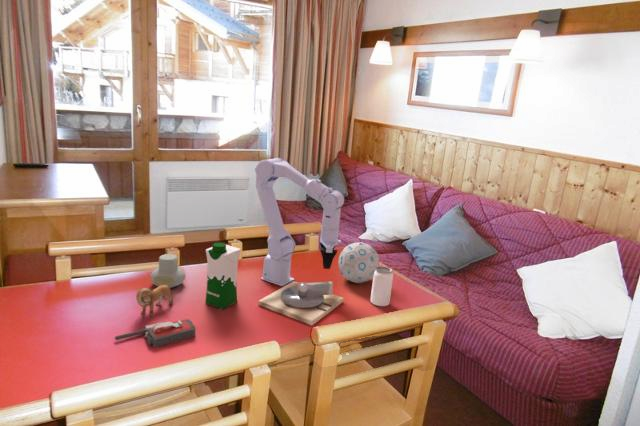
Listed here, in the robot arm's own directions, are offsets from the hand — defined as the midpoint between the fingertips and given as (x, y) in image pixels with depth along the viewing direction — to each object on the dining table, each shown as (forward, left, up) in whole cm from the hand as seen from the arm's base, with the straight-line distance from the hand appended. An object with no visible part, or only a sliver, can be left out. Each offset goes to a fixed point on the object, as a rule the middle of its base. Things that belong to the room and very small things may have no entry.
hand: (326, 265), depth 152 cm
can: (+18, +7, -11) cm, 22 cm away
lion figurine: (-33, -44, -11) cm, 56 cm away
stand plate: (-2, -11, -10) cm, 16 cm away
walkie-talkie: (-21, -53, -11) cm, 58 cm away
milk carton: (-22, -27, -11) cm, 37 cm away
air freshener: (-44, -29, -11) cm, 54 cm away
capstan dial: (-1, -10, -9) cm, 14 cm away
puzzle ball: (+4, +18, -11) cm, 21 cm away
